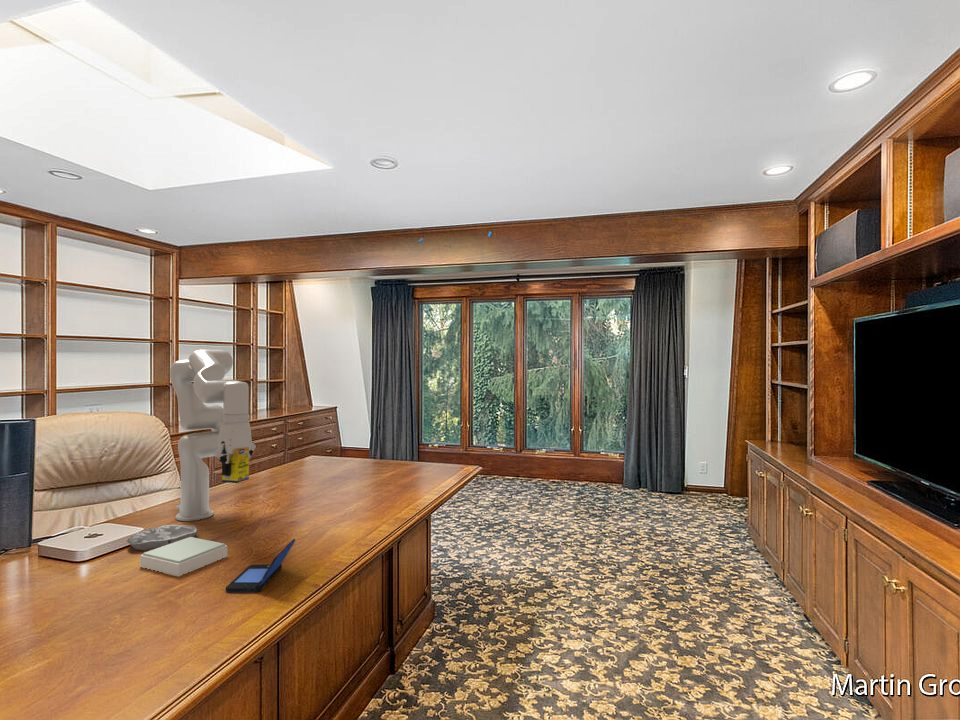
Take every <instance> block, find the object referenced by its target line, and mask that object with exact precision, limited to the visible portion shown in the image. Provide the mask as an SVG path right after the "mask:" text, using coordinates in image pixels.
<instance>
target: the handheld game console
mask: <svg viewBox="0 0 960 720" xmlns="http://www.w3.org/2000/svg"><path fill="white" fill-rule="evenodd" d="M295 541H296V538H293V539H292V540H290V542H289V543H288V544H287V545H286V546H285V547H283V549H282V550H281V551H280V552H279V553H278V554H277V555H276V556H275V557H274V559H273V560H272V561H271V562H270V564H268V563H267V564H266V563H265V564H261V563H260V564H250V565H249V566H247V567H246V568H245V569H244V570H243V571H242V572H241V573H240V574H238V575H237V576H236V577H235V578H234V579H232V581H231V582H229V583H228V584H227V585H226V586H225V592H226V593H242V592H244V593H256V592H259V593H261V592H262V591H263V589H264V588H265V587H266V586H267V585H268V584H269V581H270V580H271V578H272V577H273V578H274V577H275V576H276V575H277V574H278V573H279V572H281V570H282V568H283V566H282V563H283V562H284V560H285V559H286V557H287V556H288V554H289V552H290V551H291V549H292V547H293V546H294V544H295ZM273 578H272V579H273ZM266 584H267V585H266ZM265 585H266V586H265ZM264 586H265V587H264ZM263 587H264V588H263Z"/></svg>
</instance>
